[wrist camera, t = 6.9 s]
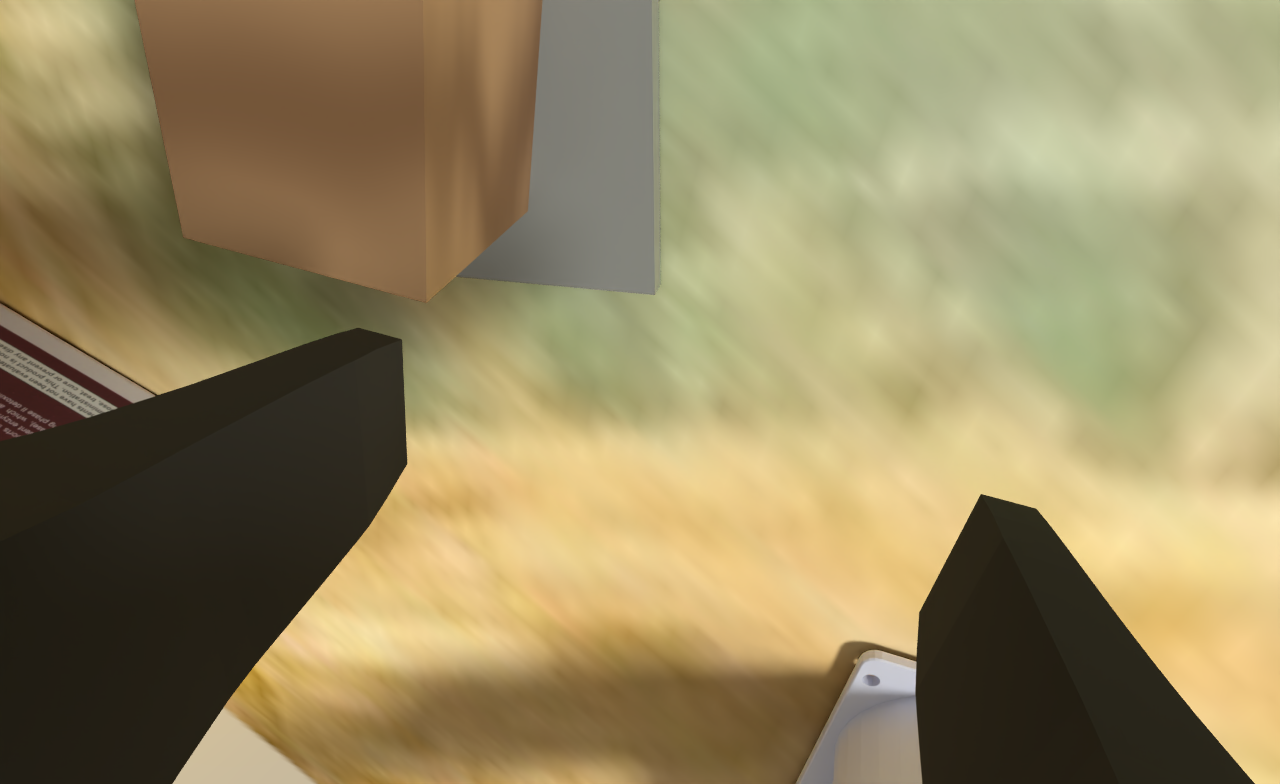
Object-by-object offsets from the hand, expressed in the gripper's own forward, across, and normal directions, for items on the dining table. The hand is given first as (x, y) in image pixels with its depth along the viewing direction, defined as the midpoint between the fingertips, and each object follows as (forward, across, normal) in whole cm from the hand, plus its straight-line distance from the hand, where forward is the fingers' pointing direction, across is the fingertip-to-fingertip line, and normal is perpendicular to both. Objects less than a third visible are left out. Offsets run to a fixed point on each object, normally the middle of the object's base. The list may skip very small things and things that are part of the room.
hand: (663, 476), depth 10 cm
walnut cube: (+9, +8, -2) cm, 12 cm away
